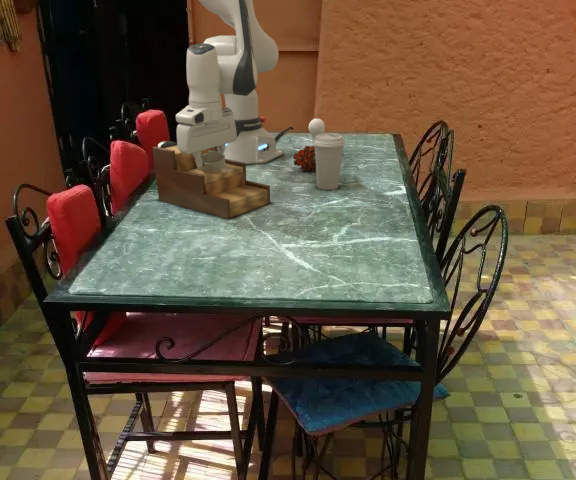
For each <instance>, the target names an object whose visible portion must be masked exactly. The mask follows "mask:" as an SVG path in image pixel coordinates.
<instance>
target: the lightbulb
mask: <svg viewBox="0 0 576 480" xmlns="http://www.w3.org/2000/svg"><path fill="white" fill-rule="evenodd" d="M307 127H308V131H309V134H310V136H311V142H312V143H313V141H314V139H315V137H316V135H319V134H325V133H324V132H325V130H326V125H325V122H324V121H323V120H322V119H320V118H313V119H311V121H310V122H309V124H308V126H307ZM312 146H315V145H313V144H312Z"/></svg>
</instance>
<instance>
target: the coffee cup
mask: <svg viewBox="0 0 576 480" xmlns="http://www.w3.org/2000/svg"><path fill="white" fill-rule="evenodd" d="M345 144H346V143H345V139H344V137H343V135H341V134H339V133H332V132H331V133H329V132H328V133H323V134H319V135H316V137H315V139H314V141H313V142H312V146H313V145H315V159H316V170H315V172H316V173H315V174H316V185H317V188H318V189H320V190H324V191H332V190H336V189H338V188H339V186H340V185H339V184H340V176H341V175H340V174H341V166H342V158H343V149H344V146H345Z"/></svg>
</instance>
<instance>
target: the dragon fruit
mask: <svg viewBox="0 0 576 480" xmlns="http://www.w3.org/2000/svg"><path fill="white" fill-rule="evenodd" d="M292 157H293V165H295V166H297V167H300V168H301V171H302V172H306V171H309V172H316V159H315V146H313V145H304V148H303V149H302V148H301V149H299V150H298V151H297V152H295V153H294V154H293V156H292Z"/></svg>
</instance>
